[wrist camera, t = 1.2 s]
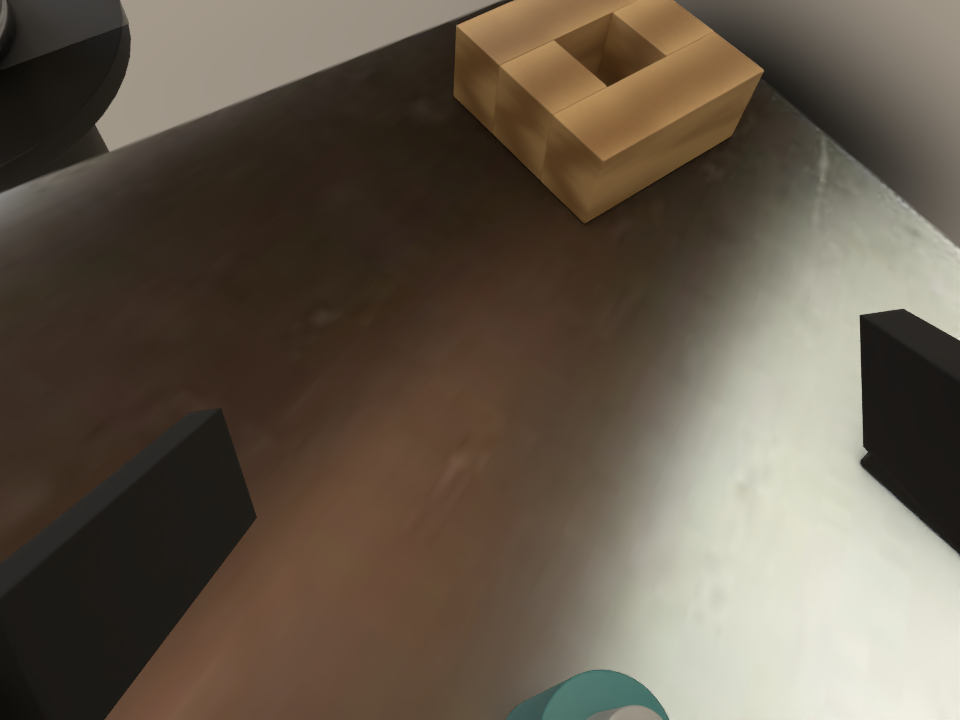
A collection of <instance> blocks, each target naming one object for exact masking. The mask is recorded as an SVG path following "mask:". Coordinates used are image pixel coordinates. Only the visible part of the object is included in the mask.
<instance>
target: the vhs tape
mask: <svg viewBox="0 0 960 720" xmlns="http://www.w3.org/2000/svg"><path fill="white" fill-rule="evenodd" d="M861 464H862V466H863V467H864V468H865V469H867V470H868V471H869V472H870V473H871V474H872V475H873V476H874V477H875V478H877V479H878V480H879V481H880V482H881V483H882V484H883V485H884V486H885V487H887V488H888V489H889V490H890V491H891V492H892V493H893V494H894V495H895V496H897V497H898V498H899V499H900V500H901V501H902V502H903V503H904V504H905V505H907V506H908V507H909V508H910V509H911V510H912V511H913V512H914V513H915V514H917V515H918V516H919V517H920V518H921V519H922V520H923V521H924V522H925V523H927V524H928V525H929V526H930V527H931V528H932V529H933V530H934V531H935V532H937V533H938V534H939V535H940V536H941V537H942V538H943V539H944V540H945V541H947V542H948V543H949V544H950V545H951V546H952V547H953V548H954V549H955V550H957V551H958V549H957V548H956V547H955V546H954V545H953V544H952V543H951V542H950V541H949V540H948V539H947V537H946V536H945V535H944V534H943V533H942V532H941V531H940V530H939V529H938V528H937V527H936V525H935V524H934V523H933V522H932V521H931V520H930V519H929V518H928V517H927V516H926V514H925V513H924V512H923V511H922V510H921V509H920V508H919V507H918V506H917V505H916V504H915V502H914V501H913V500H912V499H911V498H910V497H909V496H908V495H907V494H906V493H905V491H904V490H903V489H902V488H901V487H900V486H899V485H898V484H897V483H896V482H895V481H894V479H893V478H892V477H891V476H890V475H889V474H888V473H887V472H886V471H885V470H884V468H883V467H882V466H881V465H880V464H879V463H878V462H877V461H876V460H875V459H874V458H873V456H872V455H871V454H870V453H869V452H868V453H867V454H866V455H865V456H864V457H863V458H862V460H861ZM958 552H959V551H958ZM959 553H960V552H959Z"/></svg>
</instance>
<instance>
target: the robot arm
mask: <svg viewBox="0 0 960 720" xmlns="http://www.w3.org/2000/svg"><path fill="white" fill-rule="evenodd" d="M15 32H16V18H15V13H14V11H13V8H12V6H11V4H10V2H9V0H0V64H1V62H2V61H3V60H4V59H5V57H6V55H7V54H8V52H9V50H10V48H11V46H12V44H13V41H14V37H15ZM860 342H861V378H862V414H863V447H864V448H865V449H866V450H867V451H868V452H869V453H870V454H871V455H872V456H873V458H874V459H875V460H876V461H877V462H878V463H879V464H880V465H881V466H882V467H883V468H884V470H885V471H886V472H887V473H888V474H889V475H890V476H891V477H892V478H893V479H894V481H895V482H896V483H897V484H898V485H899V486H900V487H901V488H902V489H903V490H904V491H905V493H906V494H907V495H908V496H909V497H910V498H911V499H912V500H913V501H914V502H915V504H916V505H917V506H918V507H919V508H920V509H921V510H922V511H923V512H924V513H925V514H926V516H927V517H928V518H929V519H930V520H931V521H932V522H933V523H934V524H935V525H936V527H937V528H938V529H939V530H940V531H941V532H942V533H943V534H944V535H945V536H946V537H947V539H948V540H949V541H950V542H951V543H952V544H953V545H954V546H955V547H956V548H957V549H958V551H959V552H960V341H959V340H958V339H956V338H954V337H952V336H951V335H949V334H947V333H945V332H943V331H942V330H940V329H938V328H936V327H935V326H933V325H931V324H929V323H928V322H926V321H924V320H922V319H920V318H919V317H917V316H915V315H913V314H912V313H910V312H908V311H906V310H905V309H899V310H892V311H885V312H878V313H871V314H864V315H860ZM256 518H257V517H256V514H255V511H254V508H253V504H252V501H251V498H250V495H249V492H248V489H247V486H246V483H245V480H244V477H243V474H242V471H241V468H240V465H239V462H238V459H237V455H236V452H235V449H234V446H233V443H232V440H231V437H230V434H229V431H228V428H227V425H226V422H225V419H224V416H223V413H222V409H221V408H218V409H212V410H205V411H198V412H191V413H188V414H187V415H186V416H184V417H183V418H182V419H181V420H179V421H178V422H177V423H176V424H174V425H173V426H172V427H171V428H170V429H168V430H167V431H166V432H165V433H163V434H162V435H161V436H160V437H158V438H157V439H156V440H155V441H153V442H152V443H151V444H150V445H148V446H147V447H146V448H145V449H143V450H142V451H141V452H140V453H138V454H137V455H136V456H135V457H133V458H132V459H131V460H130V461H128V462H127V463H126V464H125V465H123V466H122V467H121V468H120V469H118V470H117V471H116V472H115V473H113V474H112V475H111V476H110V477H108V478H107V479H106V480H105V481H103V482H102V483H101V484H100V485H98V486H97V487H96V488H95V489H93V490H92V491H91V492H90V493H88V494H87V495H86V496H85V497H83V498H82V499H81V500H80V501H78V502H77V503H76V504H75V505H73V506H72V507H71V508H70V509H68V510H67V511H66V512H65V513H63V514H62V515H61V516H60V517H58V518H57V519H56V520H55V521H53V522H52V523H51V524H50V525H48V526H47V527H46V528H45V529H43V530H42V531H41V532H40V533H38V534H37V535H36V536H35V537H33V538H32V539H31V540H30V541H28V542H27V543H26V544H25V545H23V546H22V547H21V548H20V549H18V550H17V551H16V552H15V553H13V554H12V555H11V556H10V557H8V558H7V559H6V560H5V561H3V562H2V563H1V564H0V720H104V719H105V718H106V717H107V715H108V714H109V713H110V711H111V710H112V709H113V707H114V706H115V705H116V703H117V702H118V701H119V700H120V698H121V697H122V696H123V694H124V693H125V692H126V690H127V689H128V688H129V686H130V685H131V684H132V682H133V681H134V680H135V678H136V677H137V676H138V674H139V673H140V672H141V670H142V669H143V668H144V666H145V665H146V664H147V662H148V661H149V660H150V658H151V657H152V656H153V654H154V653H155V652H156V651H157V649H158V648H159V647H160V645H161V644H162V643H163V641H164V640H165V639H166V637H167V636H168V635H169V633H170V632H171V631H172V629H173V628H174V627H175V625H176V624H177V623H178V621H179V620H180V619H181V617H182V616H183V615H184V613H185V612H186V611H187V609H188V608H189V607H190V605H191V604H192V603H193V602H194V600H195V599H196V598H197V596H198V595H199V594H200V592H201V591H202V590H203V588H204V587H205V586H206V584H207V583H208V582H209V580H210V579H211V578H212V576H213V575H214V574H215V572H216V571H217V570H218V568H219V567H220V566H221V564H222V563H223V562H224V560H225V559H226V558H227V556H228V555H229V554H230V552H231V551H232V550H233V549H234V547H235V546H236V545H237V543H238V542H239V541H240V539H241V538H242V537H243V535H244V534H245V533H246V531H247V530H248V529H249V527H250V526H251V525H252V523H253V522H254V521H255V519H256Z"/></svg>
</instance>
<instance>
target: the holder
mask: <svg viewBox="0 0 960 720" xmlns="http://www.w3.org/2000/svg"><path fill="white" fill-rule="evenodd" d="M763 72H764V70H763V69H762V68H761V67H759V66H758V65H757V64H756V63H754V62H753V61H752V60H750V59H749V58H748V57H746V56H745V55H744V54H742V53H741V52H740V51H739V50H737V49H736V48H735V47H733V46H732V45H731V44H729V43H728V42H727V41H725V40H724V39H723V38H722V37H720V36H719V35H718V34H716V33H715V32H714V31H713V30H711V29H710V28H709V27H708V26H706V25H705V24H704V23H702V22H701V21H700V20H698V19H697V18H696V17H694V16H693V15H692V14H690V13H689V12H688V11H687V10H685V9H684V8H682V7H681V6H680V5H679V4H677V3H676V2H675V1H674V0H514V1H512V2H510V3H507V4H505V5H503V6H500V7H498V8H496V9H493V10H491V11H489V12H487V13H484V14H482V15H480V16H477V17H475V18H473V19H470V20H468V21H466V22H463V23H461V24H459V25H457V26H456V47H455V71H454V97H455V98H456V99H457V100H458V101H459V102H460V103H461V104H462V105H463V106H464V107H465V108H466V109H467V110H468V111H470V112H471V113H472V114H473V115H474V116H475V117H476V118H477V119H478V120H479V121H480V122H481V123H482V124H483V125H484V126H485V127H486V128H487V129H488V130H489V131H490V132H491V133H493V135H494V136H495V137H496V138H497V139H498V140H499V141H500V142H501V143H502V144H503V145H504V146H505V147H506V148H507V149H509V150H510V151H511V152H512V153H513V154H514V155H515V156H516V157H517V158H518V159H519V160H520V161H521V162H522V163H523V164H524V165H525V166H526V167H527V168H528V169H529V170H530V171H531V172H532V173H533V174H534V175H535V176H536V177H537V178H538V179H539V180H541V182H542V183H543V184H544V185H545V186H546V187H547V188H548V189H549V190H550V191H551V192H552V193H553V194H554V195H555V196H556V197H557V198H558V199H559V200H560V201H561V202H563V203H564V204H565V205H566V206H567V207H568V208H569V209H570V210H571V211H572V212H573V213H574V214H575V215H576V216H577V217H578V218H579V219H580V220H581V221H582V222H583V223H584V224H585V223H587V222H588V221H590V220H592V219H594V218H595V217H597V216H599V215H600V214H602V213H604V212H605V211H607V210H609V209H610V208H612V207H614V206H615V205H617V204H619V203H620V202H622V201H624V200H625V199H627V198H629V197H630V196H632V195H634V194H635V193H637V192H639V191H640V190H642V189H644V188H645V187H647V186H649V185H650V184H652V183H654V182H655V181H657V180H659V179H660V178H662V177H664V176H665V175H667V174H669V173H670V172H672V171H674V170H675V169H677V168H679V167H680V166H682V165H684V164H686V163H687V162H689V161H691V160H692V159H694V158H696V157H697V156H699V155H701V154H702V153H704V152H706V151H707V150H709V149H711V148H712V147H714V146H716V145H717V144H719V143H721V142H722V141H724V140H726V139H727V138H729V137H731V136H732V134H733V132H734V130H735V128H736V126H737V124H738V122H739V120H740V118H741V116H742V114H743V112H744V110H745V108H746V106H747V104H748V102H749V100H750V98H751V96H752V94H753V92H754V90H755V88H756V86H757V84H758V82H759V80H760V78H761V76H762V73H763Z"/></svg>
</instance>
